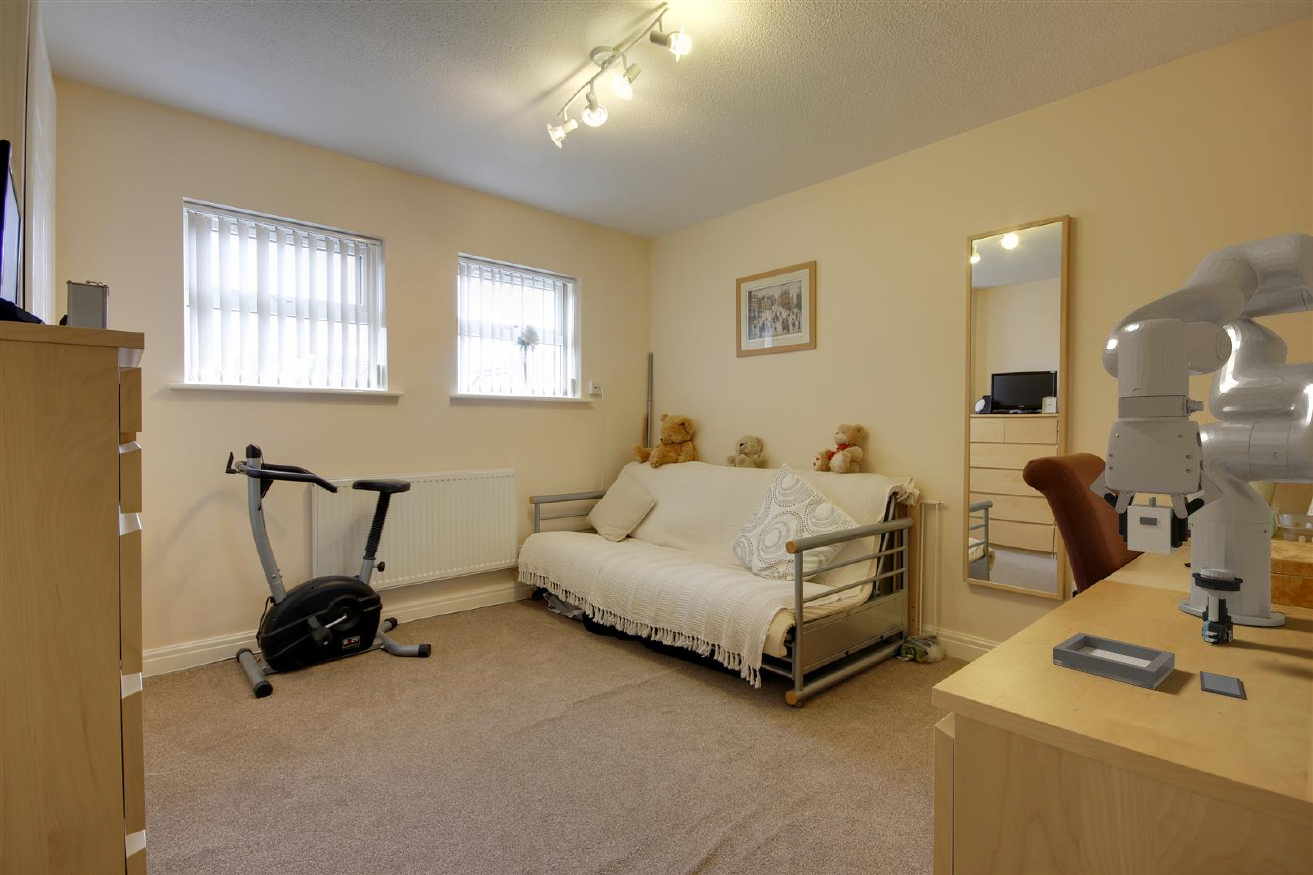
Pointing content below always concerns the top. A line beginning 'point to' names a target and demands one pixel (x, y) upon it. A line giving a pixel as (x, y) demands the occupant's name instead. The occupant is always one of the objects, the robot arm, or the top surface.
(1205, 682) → the phone
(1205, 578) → the push button
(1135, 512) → the charger
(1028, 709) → the top surface
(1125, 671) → the dock
